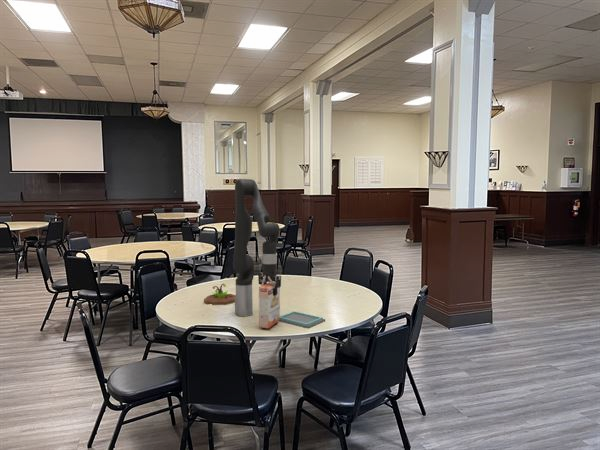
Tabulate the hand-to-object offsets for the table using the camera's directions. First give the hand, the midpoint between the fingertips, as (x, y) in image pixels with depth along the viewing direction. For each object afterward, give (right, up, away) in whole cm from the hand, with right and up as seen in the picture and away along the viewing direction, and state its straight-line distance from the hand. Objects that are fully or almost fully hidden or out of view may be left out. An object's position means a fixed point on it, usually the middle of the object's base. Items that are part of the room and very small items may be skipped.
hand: (269, 294), depth 222 cm
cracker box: (0, -16, +2) cm, 16 cm away
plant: (-34, -13, +50) cm, 62 cm away
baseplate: (+16, -16, +10) cm, 24 cm away
